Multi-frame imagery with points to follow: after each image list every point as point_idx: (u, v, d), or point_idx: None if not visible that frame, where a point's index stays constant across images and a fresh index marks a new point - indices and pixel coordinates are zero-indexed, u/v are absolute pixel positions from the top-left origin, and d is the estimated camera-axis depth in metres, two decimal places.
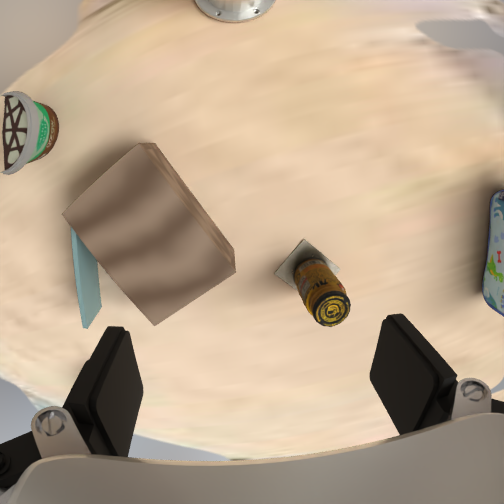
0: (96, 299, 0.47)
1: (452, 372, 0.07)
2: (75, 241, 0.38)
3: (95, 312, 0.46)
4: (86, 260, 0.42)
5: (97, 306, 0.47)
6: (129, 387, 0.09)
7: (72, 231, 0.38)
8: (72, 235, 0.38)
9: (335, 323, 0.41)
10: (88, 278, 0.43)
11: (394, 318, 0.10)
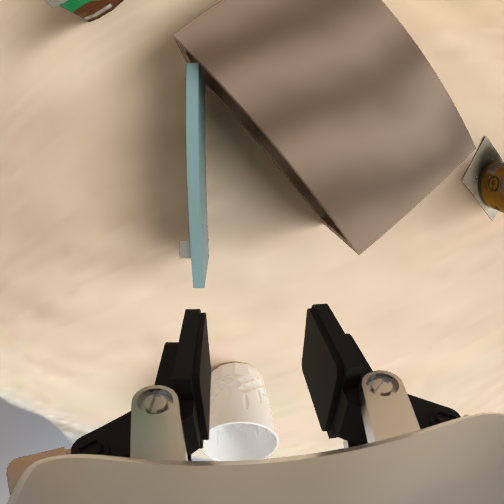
0: (206, 235, 0.27)
1: (359, 363, 0.08)
2: (195, 91, 0.19)
3: (206, 260, 0.27)
4: (201, 146, 0.23)
5: (207, 250, 0.28)
6: (207, 366, 0.11)
7: (189, 72, 0.18)
8: (188, 80, 0.18)
9: None
10: (202, 185, 0.24)
11: (316, 308, 0.11)
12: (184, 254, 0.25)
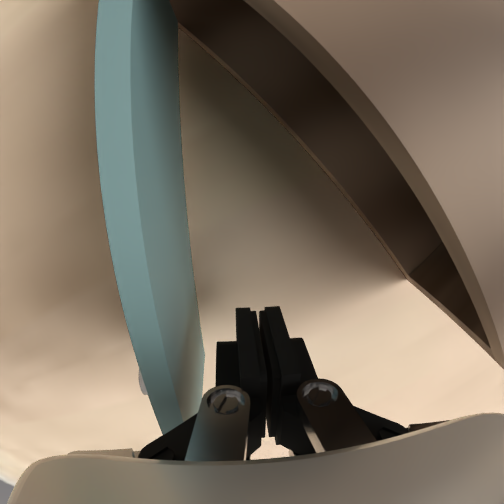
0: (195, 336, 0.13)
1: (296, 369, 0.08)
2: None
3: (199, 386, 0.13)
4: (162, 153, 0.08)
5: (200, 360, 0.14)
6: None
7: None
8: None
9: None
10: (172, 250, 0.10)
11: (267, 310, 0.11)
12: None
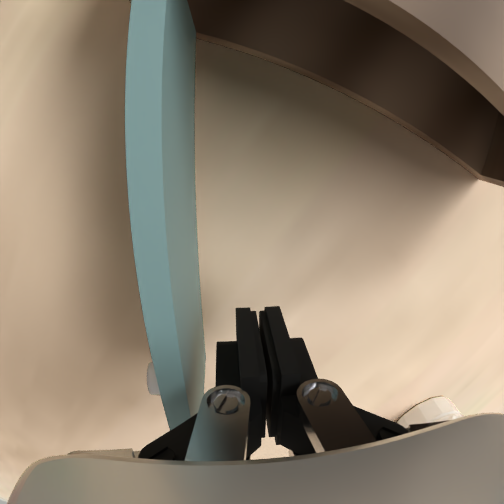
0: (200, 340, 0.14)
1: (296, 369, 0.08)
2: (156, 18, 0.05)
3: (202, 387, 0.13)
4: (181, 172, 0.09)
5: (202, 362, 0.14)
6: None
7: None
8: None
9: None
10: (186, 263, 0.10)
11: (266, 310, 0.11)
12: (159, 392, 0.11)
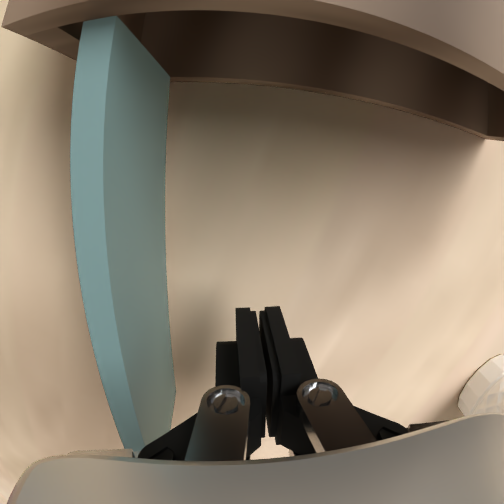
0: (167, 381, 0.14)
1: (296, 370, 0.08)
2: (97, 107, 0.05)
3: (168, 424, 0.13)
4: (140, 243, 0.09)
5: (170, 400, 0.14)
6: None
7: (87, 47, 0.05)
8: (82, 72, 0.05)
9: None
10: (147, 324, 0.10)
11: (267, 310, 0.11)
12: None
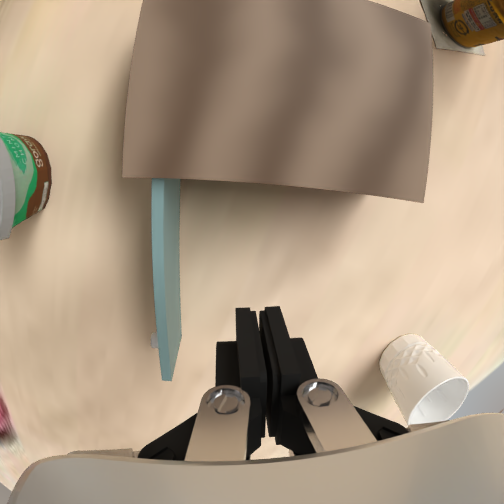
0: (177, 324, 0.28)
1: (296, 369, 0.08)
2: (160, 209, 0.20)
3: (177, 348, 0.27)
4: (171, 252, 0.23)
5: (178, 336, 0.28)
6: None
7: (155, 187, 0.19)
8: (154, 196, 0.19)
9: None
10: (172, 288, 0.24)
11: (267, 310, 0.11)
12: (155, 346, 0.25)
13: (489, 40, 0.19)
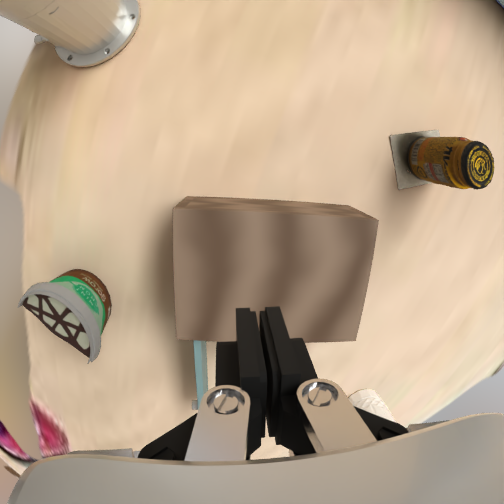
0: None
1: (296, 370, 0.08)
2: (199, 351, 0.34)
3: None
4: None
5: None
6: None
7: (195, 340, 0.34)
8: (195, 344, 0.34)
9: (491, 174, 0.26)
10: None
11: (267, 310, 0.11)
12: (195, 408, 0.40)
13: None
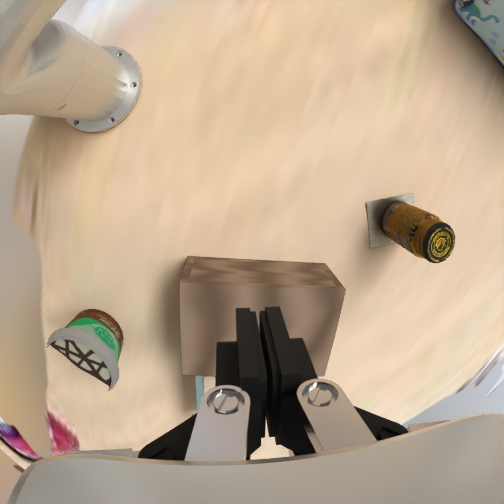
0: None
1: (296, 370, 0.08)
2: (199, 381, 0.42)
3: None
4: (202, 387, 0.46)
5: None
6: None
7: None
8: (196, 377, 0.42)
9: (451, 250, 0.34)
10: None
11: (267, 310, 0.11)
12: None
13: None
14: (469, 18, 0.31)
